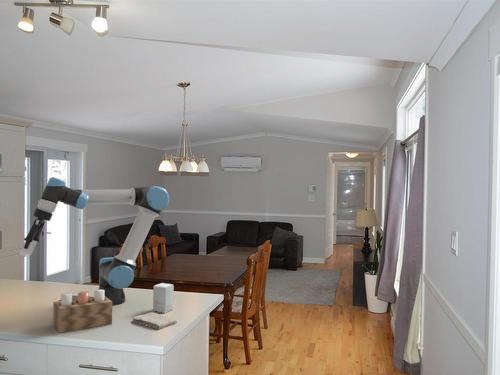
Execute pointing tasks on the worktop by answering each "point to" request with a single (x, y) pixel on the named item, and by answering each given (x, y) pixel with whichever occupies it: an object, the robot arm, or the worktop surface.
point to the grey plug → (66, 299)
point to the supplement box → (163, 297)
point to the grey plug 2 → (99, 295)
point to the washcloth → (155, 320)
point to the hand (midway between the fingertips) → (25, 254)
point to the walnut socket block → (82, 314)
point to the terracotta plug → (83, 297)
